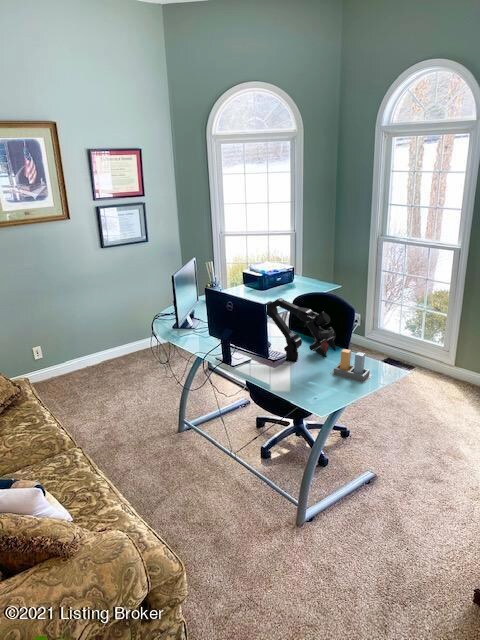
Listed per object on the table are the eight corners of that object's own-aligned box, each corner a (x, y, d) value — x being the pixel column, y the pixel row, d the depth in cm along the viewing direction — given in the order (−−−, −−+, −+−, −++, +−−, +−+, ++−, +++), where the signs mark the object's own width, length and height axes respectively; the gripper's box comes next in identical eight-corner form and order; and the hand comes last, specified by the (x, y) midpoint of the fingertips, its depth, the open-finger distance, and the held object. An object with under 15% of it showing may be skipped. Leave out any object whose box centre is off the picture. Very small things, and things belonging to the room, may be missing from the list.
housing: (329, 374, 259) (330, 368, 258) (338, 366, 268) (339, 360, 267) (364, 384, 248) (365, 378, 247) (372, 375, 258) (373, 369, 256)
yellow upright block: (338, 372, 260) (339, 351, 255) (342, 369, 264) (343, 348, 259) (347, 375, 257) (348, 353, 252) (350, 371, 261) (352, 350, 256)
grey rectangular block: (351, 376, 255) (353, 354, 251) (355, 372, 259) (357, 351, 255) (361, 379, 253) (363, 356, 248) (364, 375, 257) (366, 353, 252)
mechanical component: (329, 349, 292) (331, 355, 283) (313, 349, 292) (315, 355, 283) (330, 330, 288) (333, 336, 278) (314, 330, 288) (316, 336, 278)
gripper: (315, 331, 251) (330, 356, 250) (334, 318, 262) (349, 342, 261) (302, 338, 259) (317, 362, 258) (322, 325, 271) (336, 348, 270)
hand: (330, 353), depth 262 cm, fingers open, 9 cm apart
